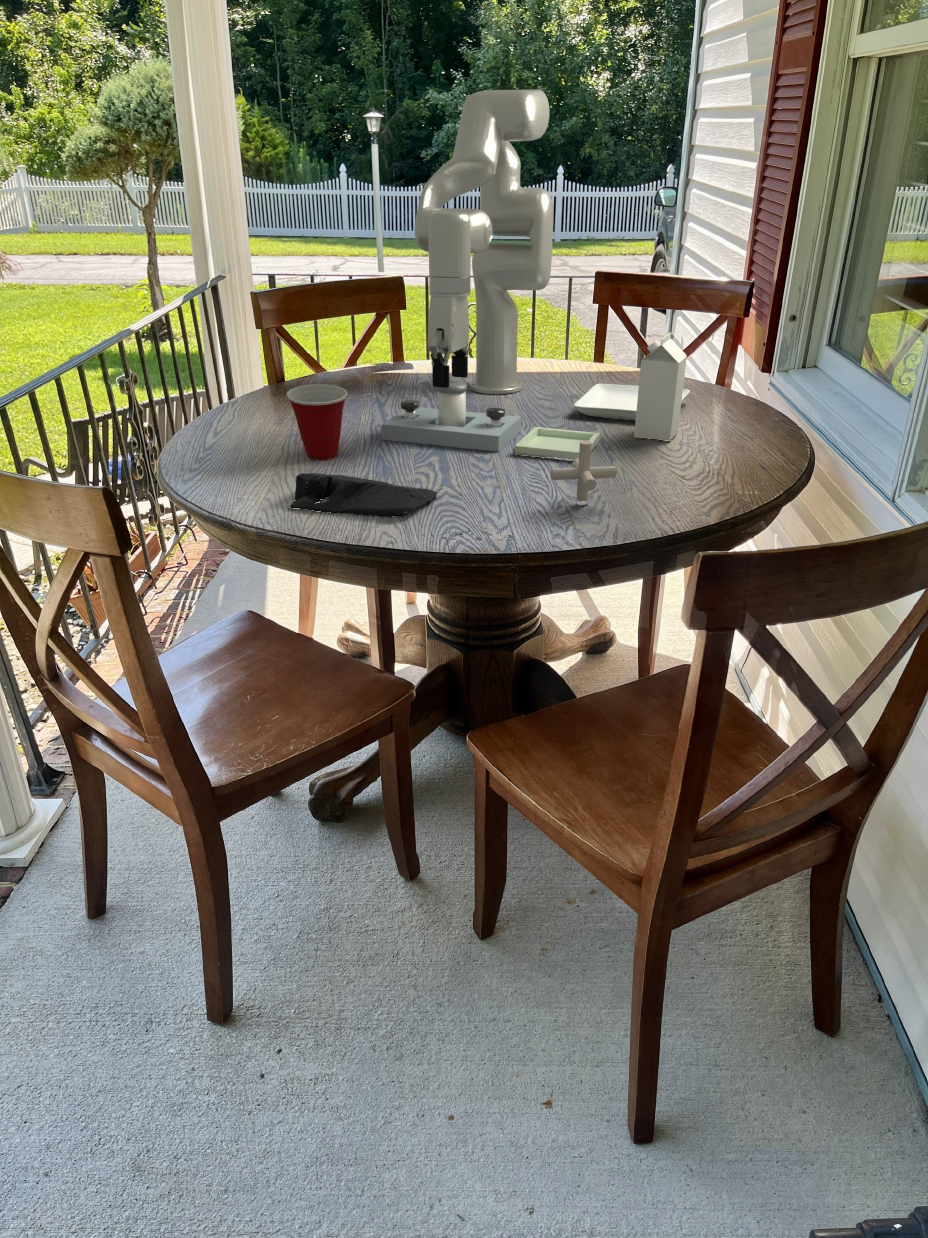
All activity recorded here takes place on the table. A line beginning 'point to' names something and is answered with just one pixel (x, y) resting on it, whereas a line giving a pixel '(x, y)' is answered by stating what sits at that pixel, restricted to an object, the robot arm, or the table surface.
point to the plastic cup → (319, 418)
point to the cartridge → (452, 404)
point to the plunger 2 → (495, 416)
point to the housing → (452, 430)
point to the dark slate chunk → (358, 496)
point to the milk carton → (660, 390)
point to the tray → (554, 443)
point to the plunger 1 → (410, 408)
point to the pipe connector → (583, 472)
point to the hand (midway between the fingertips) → (450, 381)
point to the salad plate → (612, 401)
